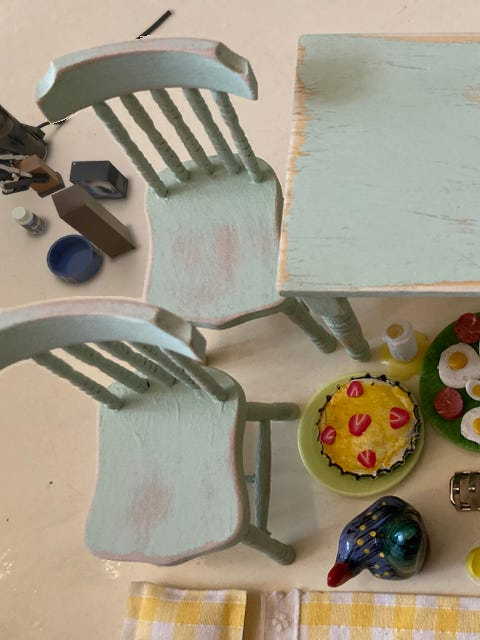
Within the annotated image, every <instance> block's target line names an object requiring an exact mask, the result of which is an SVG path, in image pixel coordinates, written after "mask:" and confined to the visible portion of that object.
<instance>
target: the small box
mask: <svg viewBox="0 0 480 640" xmlns="http://www.w3.org/2000/svg"><path fill="white" fill-rule="evenodd" d="M70 164H71V165H70V172H69V179H68V182H70V183H71V184H72V185H75V184H77V183H78V184H79V185H80V186H81V187H82V188H83V189H84V190H86V191H87V192H88V193H89V194H90V195H91V196H92V197H93V198H95V199H96V200H112V199H113V200H114V199H126V198H127V193H128V187H129V179H128V178H127V177H126V176H125V175H124V174H123V173H122V172H121V171H120V170H119V169H118V168H117V167H116V166H115V165H114V164H113V163H112V162H111V160H108V159H107V160H78V161H77V160H75V161H71V163H70Z"/></svg>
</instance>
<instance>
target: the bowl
mask: <svg viewBox="0 0 480 640" xmlns="http://www.w3.org/2000/svg"><path fill="white" fill-rule="evenodd" d="M46 253H47V254H46V264H47V268H48V270H49V271H50V272H51V273H53V274H54V275H55V276H57V277H59V278H60V279H61V280H63V281H64V282H66V283H70V284H81V283H84V282H88V281H89V280H90V279H92V278H94V276H96V274H97V273H98V272H99V270H100V269H101V266H102V262H103V256H102V251H101V249H99V248H98V247H97V246H95V245H94V244H93V243H92V242H90V241H89V240H88V239H86V238H85V237H84V236H83V235H81V234H77V233H73V234H72V233H71V234H67V235H64V236H61V237H59V238H58V239H56V240H55V241H54V242H53V244H51V245H50V247H49V248H48V251H47V252H46Z"/></svg>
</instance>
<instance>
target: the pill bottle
mask: <svg viewBox="0 0 480 640" xmlns="http://www.w3.org/2000/svg"><path fill="white" fill-rule="evenodd" d="M10 214H11V217H12V219H13V220H15V221H16V223H17V224H18V225H20V226H21V227H22V228H24V229H25V230H26V231H28V232H29V233H31V234H33V235H40V234H42V233H44V231H45V230H46V229H47V224H46V221H45V220H44V219H42V218H41V217H40V216H38V215H37V214H35V213H34V212H33V211H32V210H30V209H27V208H25V207H24V206H21V205H19V206H16V207H15V208H13V209H12V211H11V213H10Z"/></svg>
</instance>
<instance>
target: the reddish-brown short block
mask: <svg viewBox="0 0 480 640" xmlns="http://www.w3.org/2000/svg"><path fill="white" fill-rule="evenodd" d="M13 166H14V168H16V169H19V170H20V171H22V172H27V173H40V174H49V175H50V181H49V182H48V183H46V184H40V183H31V185H30V188H31V189H32V190H33V191H34V192H36V193H37V196H39V198H41V199H44V198H46V197H48V196H51V195H52V194H55V193H57V192H59V191H61V190H64V189H66V188H67V186H66V184H65V181H64V178H63V176H62V174H61V173H60V172H59V171H56V170H54V169H53V168H52V167H51V166H50V165H49V164H47V163H46V162H45V161H43V160H41V159H40V158H39V157H38V156H37V155H36V154H35V155H33V156H31V157H28V158H26V159H24V160H22V161H19V162H17V163H15V164H14V165H13ZM19 178H25V177H19Z"/></svg>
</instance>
